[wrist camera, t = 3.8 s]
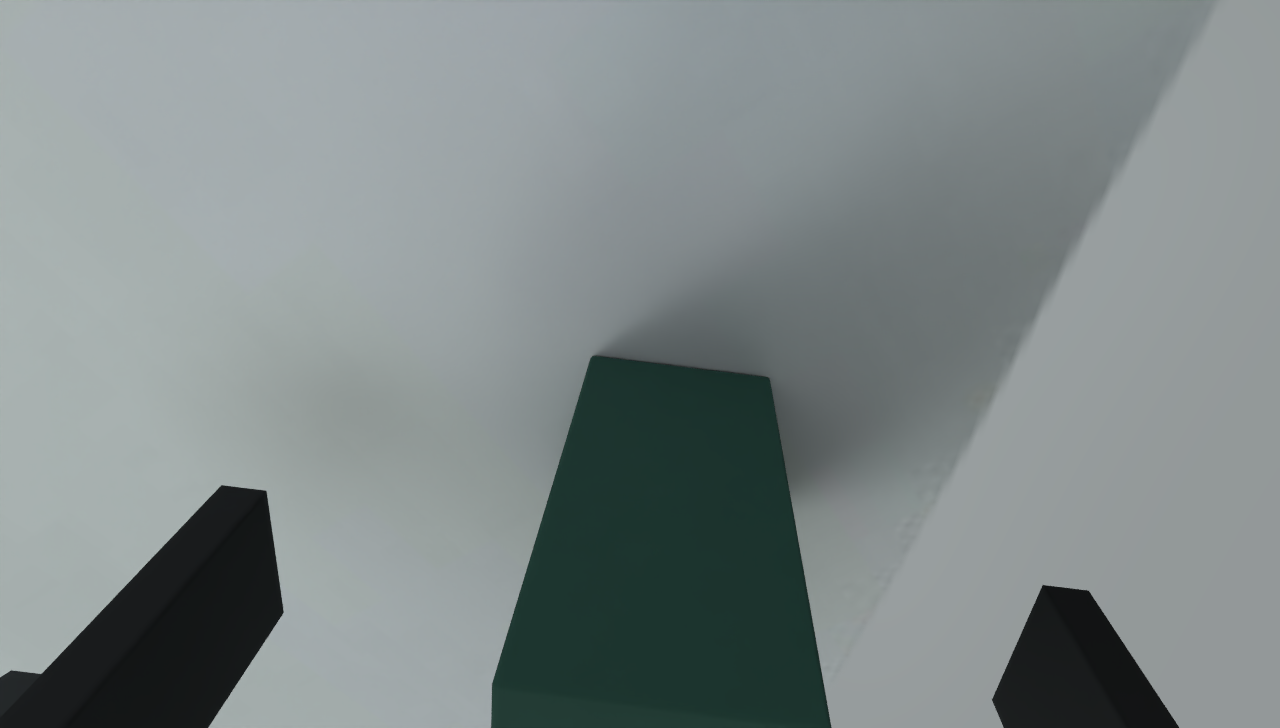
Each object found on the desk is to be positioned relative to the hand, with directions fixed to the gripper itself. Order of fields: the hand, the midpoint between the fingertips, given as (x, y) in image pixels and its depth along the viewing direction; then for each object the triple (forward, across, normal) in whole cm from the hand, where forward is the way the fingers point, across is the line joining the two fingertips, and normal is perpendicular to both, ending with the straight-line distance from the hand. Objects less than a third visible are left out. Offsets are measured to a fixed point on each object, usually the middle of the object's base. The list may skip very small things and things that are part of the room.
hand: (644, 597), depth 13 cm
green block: (+5, 0, 0) cm, 5 cm away
